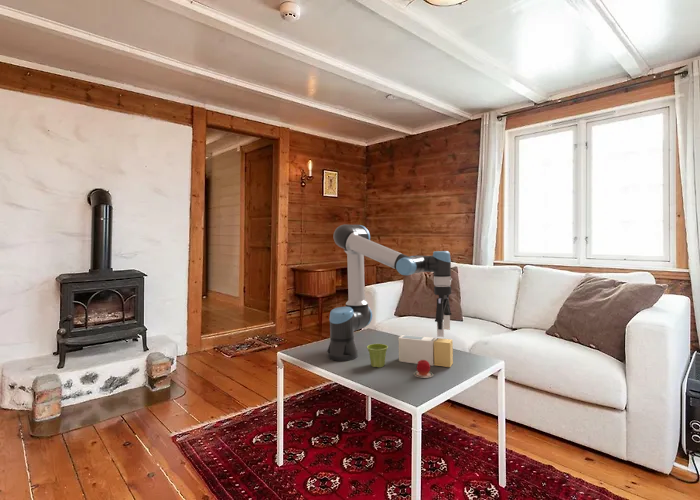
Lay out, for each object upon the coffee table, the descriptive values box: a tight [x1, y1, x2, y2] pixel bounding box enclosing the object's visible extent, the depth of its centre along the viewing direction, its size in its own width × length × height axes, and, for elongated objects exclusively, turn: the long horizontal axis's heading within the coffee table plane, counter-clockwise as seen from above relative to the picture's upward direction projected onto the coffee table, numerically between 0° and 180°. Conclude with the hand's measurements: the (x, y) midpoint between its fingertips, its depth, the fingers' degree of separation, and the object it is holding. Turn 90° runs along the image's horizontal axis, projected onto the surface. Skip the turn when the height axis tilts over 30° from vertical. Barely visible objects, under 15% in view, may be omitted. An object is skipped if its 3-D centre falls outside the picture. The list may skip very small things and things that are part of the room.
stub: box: [433, 337, 454, 368], centre depth 168 cm, size 7×6×11 cm
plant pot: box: [366, 343, 389, 368], centre depth 169 cm, size 9×9×9 cm
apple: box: [413, 360, 434, 379], centre depth 157 cm, size 8×8×6 cm
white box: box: [398, 334, 437, 367], centre depth 174 cm, size 16×6×11 cm, turn 64°
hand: (443, 332), depth 168 cm, fingers open, 13 cm apart
